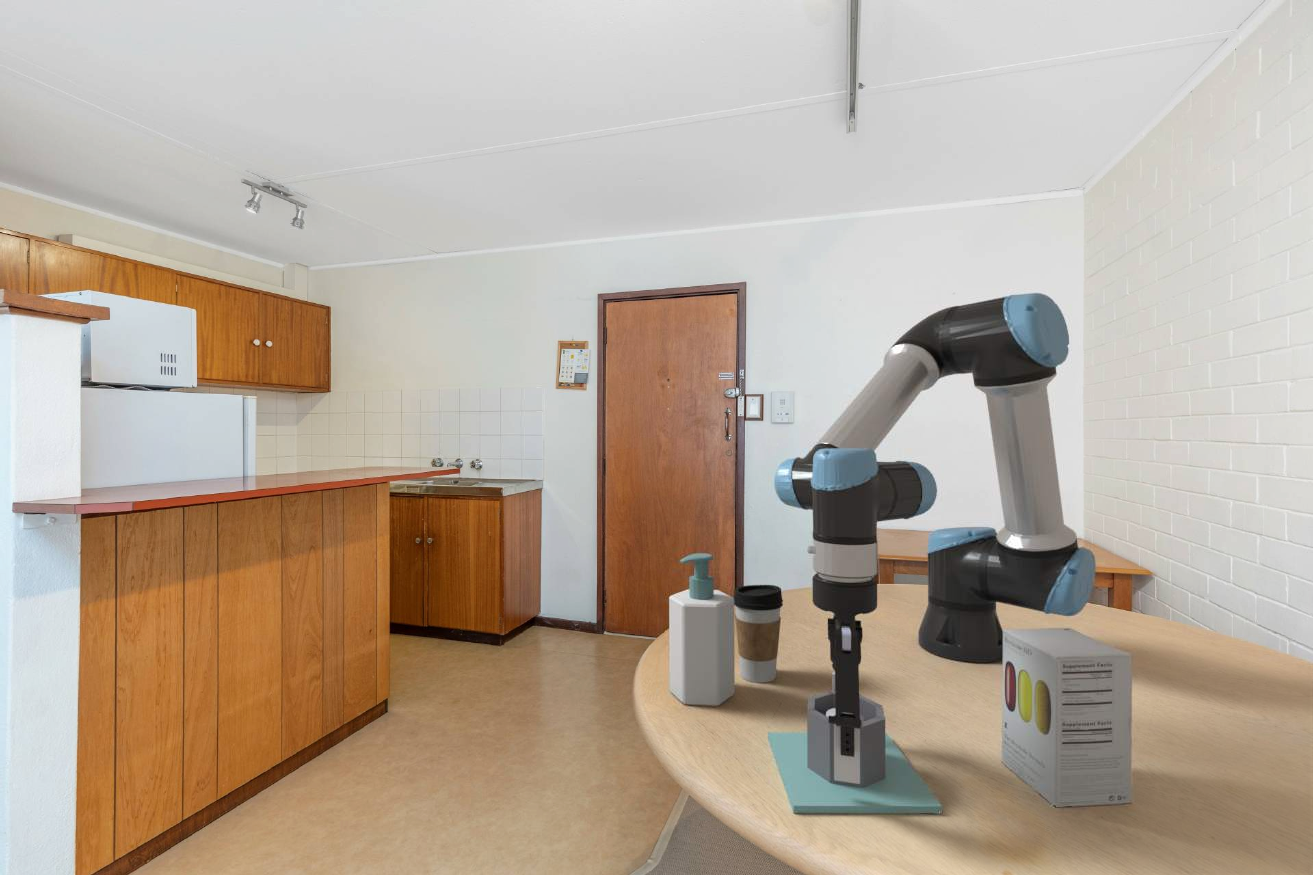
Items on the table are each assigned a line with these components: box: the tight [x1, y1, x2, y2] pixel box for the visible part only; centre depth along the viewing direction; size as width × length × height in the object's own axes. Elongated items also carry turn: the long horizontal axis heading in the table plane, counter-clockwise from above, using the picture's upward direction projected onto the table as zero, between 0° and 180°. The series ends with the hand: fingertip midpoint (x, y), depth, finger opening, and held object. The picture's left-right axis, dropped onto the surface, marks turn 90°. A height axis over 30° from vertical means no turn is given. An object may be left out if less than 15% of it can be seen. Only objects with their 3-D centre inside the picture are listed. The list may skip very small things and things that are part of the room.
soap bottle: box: [668, 552, 736, 707], centre depth 95 cm, size 10×9×22 cm
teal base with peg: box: [767, 708, 943, 815], centre depth 72 cm, size 16×16×7 cm
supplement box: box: [1001, 627, 1133, 808], centre depth 70 cm, size 10×9×17 cm
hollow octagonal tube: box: [806, 690, 886, 788], centre depth 72 cm, size 9×9×7 cm
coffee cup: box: [732, 584, 784, 684], centre depth 101 cm, size 8×8×15 cm
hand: (844, 749), depth 72 cm, fingers open, 13 cm apart
